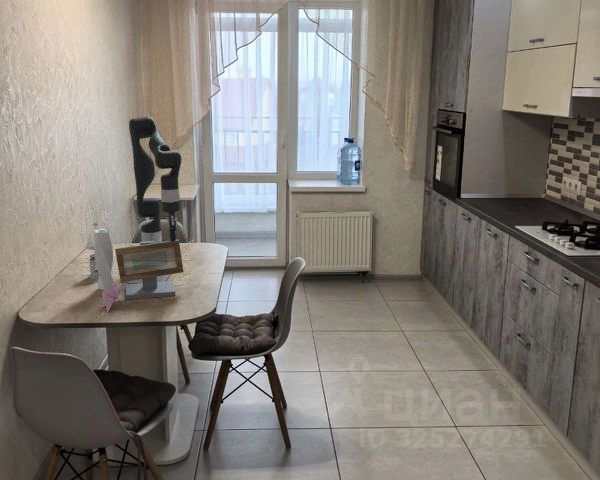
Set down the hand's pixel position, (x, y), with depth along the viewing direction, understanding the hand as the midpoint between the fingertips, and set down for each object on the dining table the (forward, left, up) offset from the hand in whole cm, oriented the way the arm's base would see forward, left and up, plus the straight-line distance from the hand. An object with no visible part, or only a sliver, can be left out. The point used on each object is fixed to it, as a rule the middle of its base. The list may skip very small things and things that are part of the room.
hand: (173, 240), depth 268 cm
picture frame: (0, -9, -15) cm, 18 cm away
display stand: (-2, -11, -22) cm, 25 cm away
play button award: (-22, -10, -23) cm, 34 cm away
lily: (+14, -26, -23) cm, 37 cm away
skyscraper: (-11, -29, -23) cm, 38 cm away
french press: (-33, -32, -23) cm, 51 cm away
